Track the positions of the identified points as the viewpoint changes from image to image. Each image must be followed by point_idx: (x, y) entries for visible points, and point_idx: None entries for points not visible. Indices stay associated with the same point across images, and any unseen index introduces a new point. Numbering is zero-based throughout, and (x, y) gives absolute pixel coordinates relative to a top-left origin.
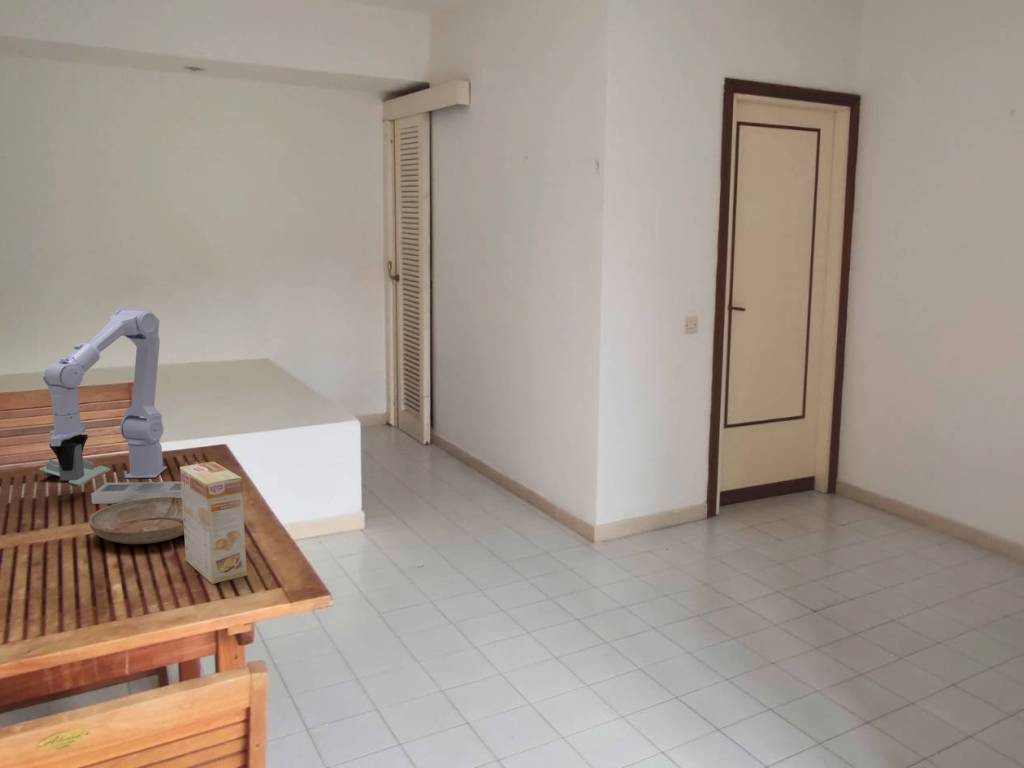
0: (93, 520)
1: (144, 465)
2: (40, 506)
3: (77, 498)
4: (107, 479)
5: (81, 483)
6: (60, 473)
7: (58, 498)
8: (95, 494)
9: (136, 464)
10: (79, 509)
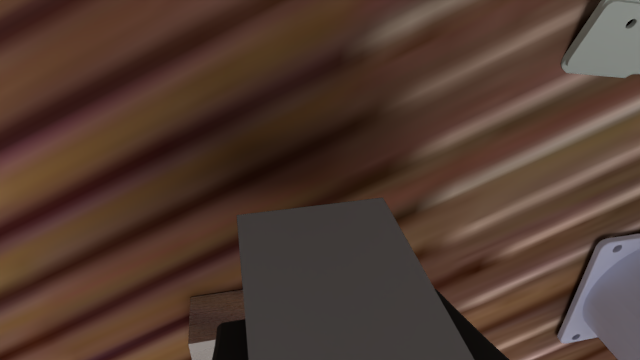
0: None
1: (619, 353)
2: (94, 38)
3: (288, 185)
4: (624, 165)
5: (589, 68)
6: (241, 266)
7: (291, 72)
8: (192, 355)
9: (637, 333)
10: (88, 289)
